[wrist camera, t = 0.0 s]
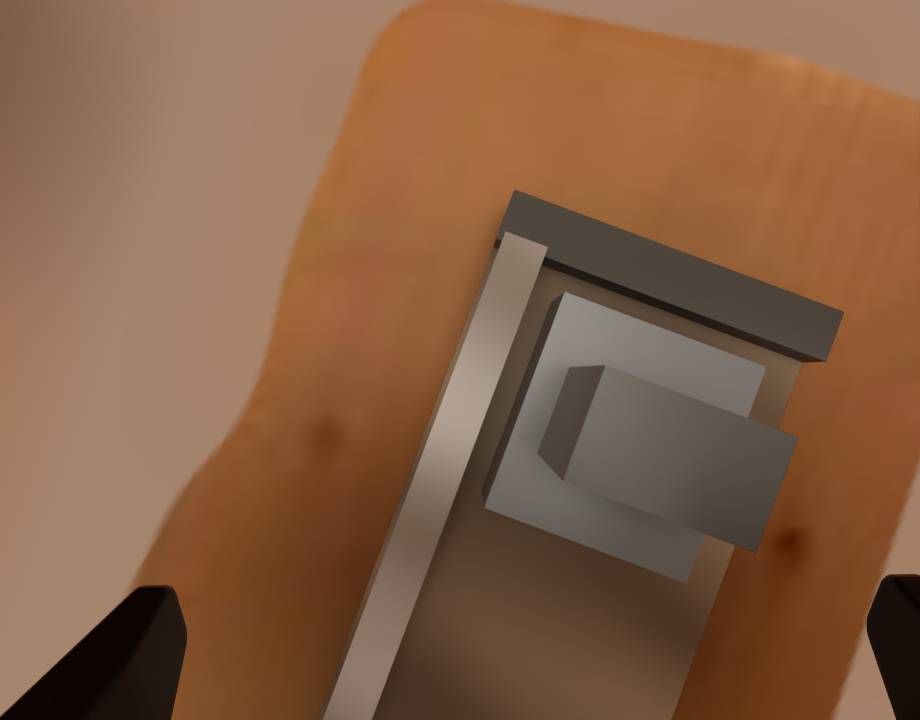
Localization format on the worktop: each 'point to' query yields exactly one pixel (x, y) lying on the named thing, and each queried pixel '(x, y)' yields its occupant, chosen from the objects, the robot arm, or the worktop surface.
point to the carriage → (636, 441)
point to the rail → (530, 548)
